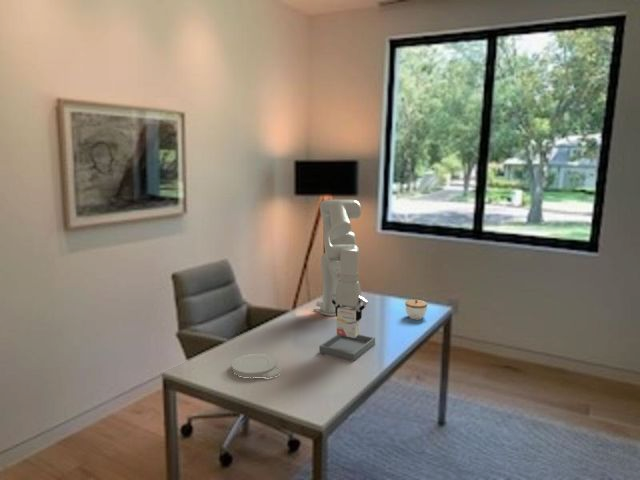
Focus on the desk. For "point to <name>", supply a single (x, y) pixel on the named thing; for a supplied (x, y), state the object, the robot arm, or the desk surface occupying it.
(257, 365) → the lid
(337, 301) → the robot arm
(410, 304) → the lidded jar
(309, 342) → the desk surface
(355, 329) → the ink cartridge box
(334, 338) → the tray
